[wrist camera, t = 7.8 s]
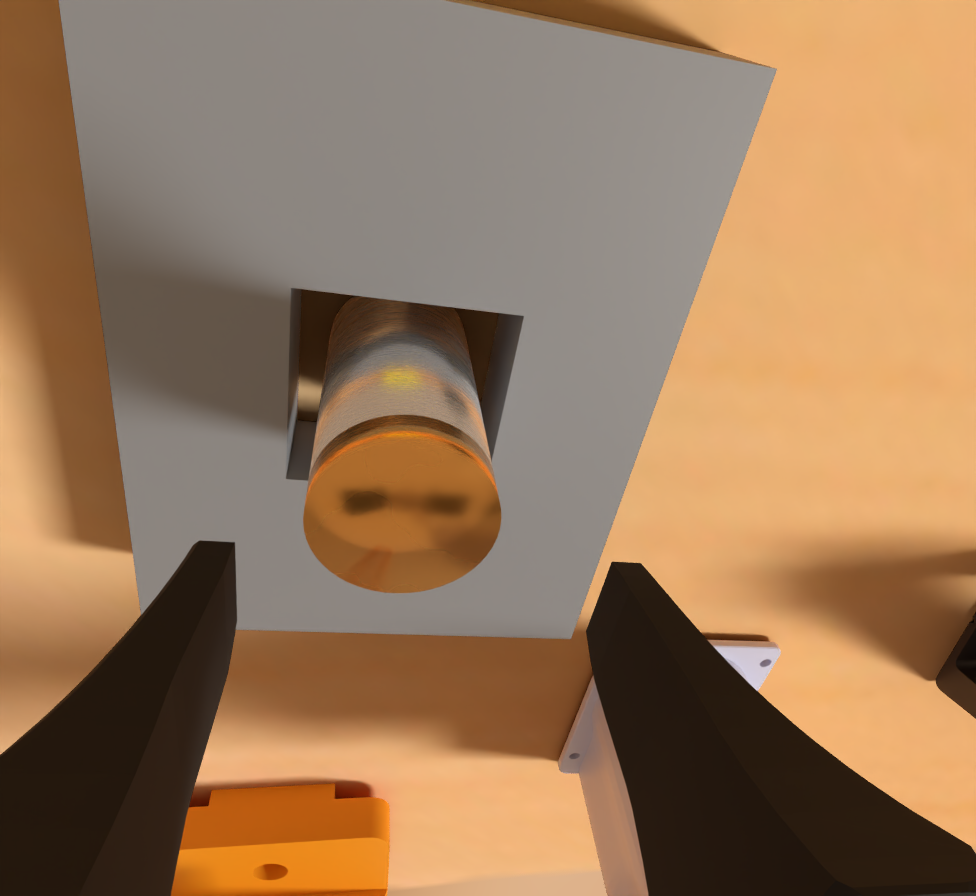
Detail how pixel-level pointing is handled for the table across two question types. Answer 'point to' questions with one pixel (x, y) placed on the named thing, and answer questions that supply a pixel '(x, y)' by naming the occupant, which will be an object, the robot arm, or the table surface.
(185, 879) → the bracket
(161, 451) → the dock plate
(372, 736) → the table surface
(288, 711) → the table surface
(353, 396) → the glass jar with lid
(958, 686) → the phone stand
